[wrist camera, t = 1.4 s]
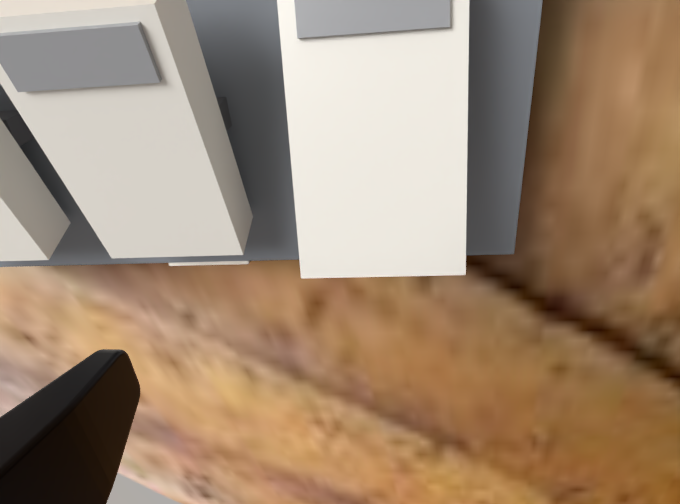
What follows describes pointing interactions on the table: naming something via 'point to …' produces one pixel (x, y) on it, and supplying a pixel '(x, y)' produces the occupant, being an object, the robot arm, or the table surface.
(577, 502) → the table surface
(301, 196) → the rocker
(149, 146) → the block
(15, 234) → the rocker
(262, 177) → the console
